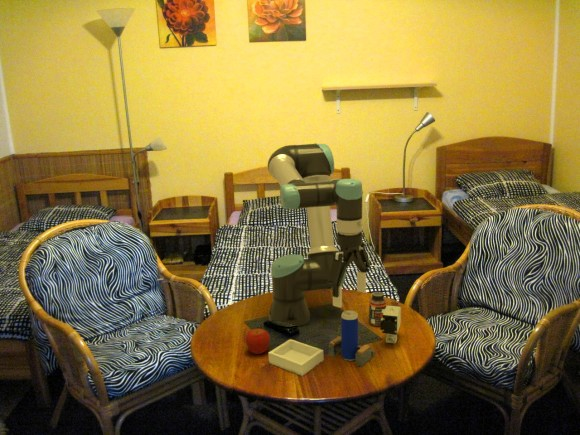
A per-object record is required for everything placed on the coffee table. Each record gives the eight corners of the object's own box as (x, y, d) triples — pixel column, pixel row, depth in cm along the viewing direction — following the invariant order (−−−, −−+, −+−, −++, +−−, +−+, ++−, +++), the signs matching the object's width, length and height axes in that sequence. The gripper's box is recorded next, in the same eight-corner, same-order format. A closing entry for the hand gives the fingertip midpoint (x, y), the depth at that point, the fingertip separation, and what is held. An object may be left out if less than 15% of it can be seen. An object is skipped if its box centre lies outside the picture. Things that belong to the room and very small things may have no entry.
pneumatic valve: (401, 334, 186) (401, 301, 183) (395, 350, 176) (396, 315, 173) (384, 332, 188) (385, 299, 185) (378, 347, 177) (379, 313, 174)
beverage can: (360, 355, 173) (360, 311, 169) (354, 362, 169) (354, 318, 165) (344, 352, 175) (344, 308, 172) (339, 359, 171) (338, 315, 167)
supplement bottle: (374, 328, 191) (375, 298, 188) (365, 321, 196) (365, 292, 193) (389, 324, 193) (389, 295, 190) (379, 318, 198) (380, 289, 196)
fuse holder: (328, 355, 173) (328, 342, 172) (342, 345, 179) (342, 332, 178) (361, 367, 166) (361, 353, 165) (374, 356, 172) (374, 343, 171)
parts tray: (268, 363, 170) (268, 352, 169) (290, 349, 178) (290, 338, 178) (302, 376, 162) (301, 365, 161) (323, 360, 171) (323, 350, 170)
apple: (275, 351, 177) (274, 329, 175) (256, 360, 172) (255, 337, 170) (260, 343, 183) (259, 322, 181) (241, 351, 178) (240, 329, 176)
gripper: (336, 244, 150) (337, 316, 155) (381, 224, 169) (380, 288, 174) (314, 240, 154) (315, 309, 160) (360, 220, 173) (360, 283, 179)
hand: (349, 298), depth 167 cm, fingers open, 13 cm apart
